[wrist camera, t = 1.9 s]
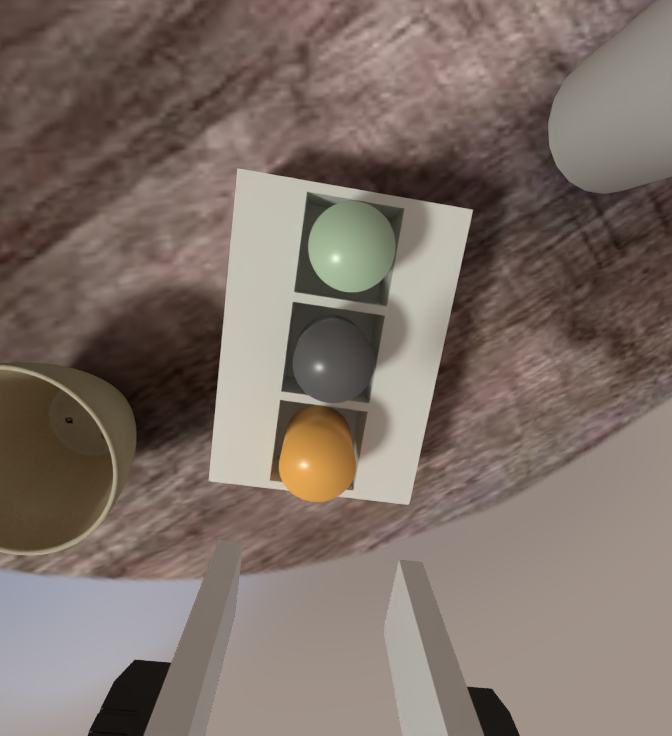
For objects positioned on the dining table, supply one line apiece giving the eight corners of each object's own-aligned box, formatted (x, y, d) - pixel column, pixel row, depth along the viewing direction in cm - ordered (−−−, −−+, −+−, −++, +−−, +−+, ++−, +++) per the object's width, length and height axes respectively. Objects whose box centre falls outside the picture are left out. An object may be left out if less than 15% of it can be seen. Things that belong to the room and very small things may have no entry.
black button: (302, 310, 23) (298, 317, 19) (370, 320, 23) (381, 329, 19) (293, 377, 24) (287, 397, 20) (359, 386, 24) (367, 408, 20)
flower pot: (183, 363, 26) (132, 395, 19) (156, 498, 28) (101, 573, 21) (22, 322, 25) (-95, 341, 18) (7, 466, 27) (-103, 533, 20)
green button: (315, 208, 21) (314, 193, 18) (388, 221, 22) (402, 209, 18) (305, 283, 22) (302, 285, 18) (375, 294, 23) (387, 298, 19)
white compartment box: (251, 186, 23) (237, 168, 20) (448, 220, 24) (473, 209, 20) (224, 451, 27) (208, 480, 23) (396, 472, 28) (409, 504, 24)
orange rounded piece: (289, 401, 24) (283, 425, 20) (355, 410, 24) (362, 436, 20) (281, 462, 25) (274, 496, 21) (345, 469, 25) (349, 505, 21)
